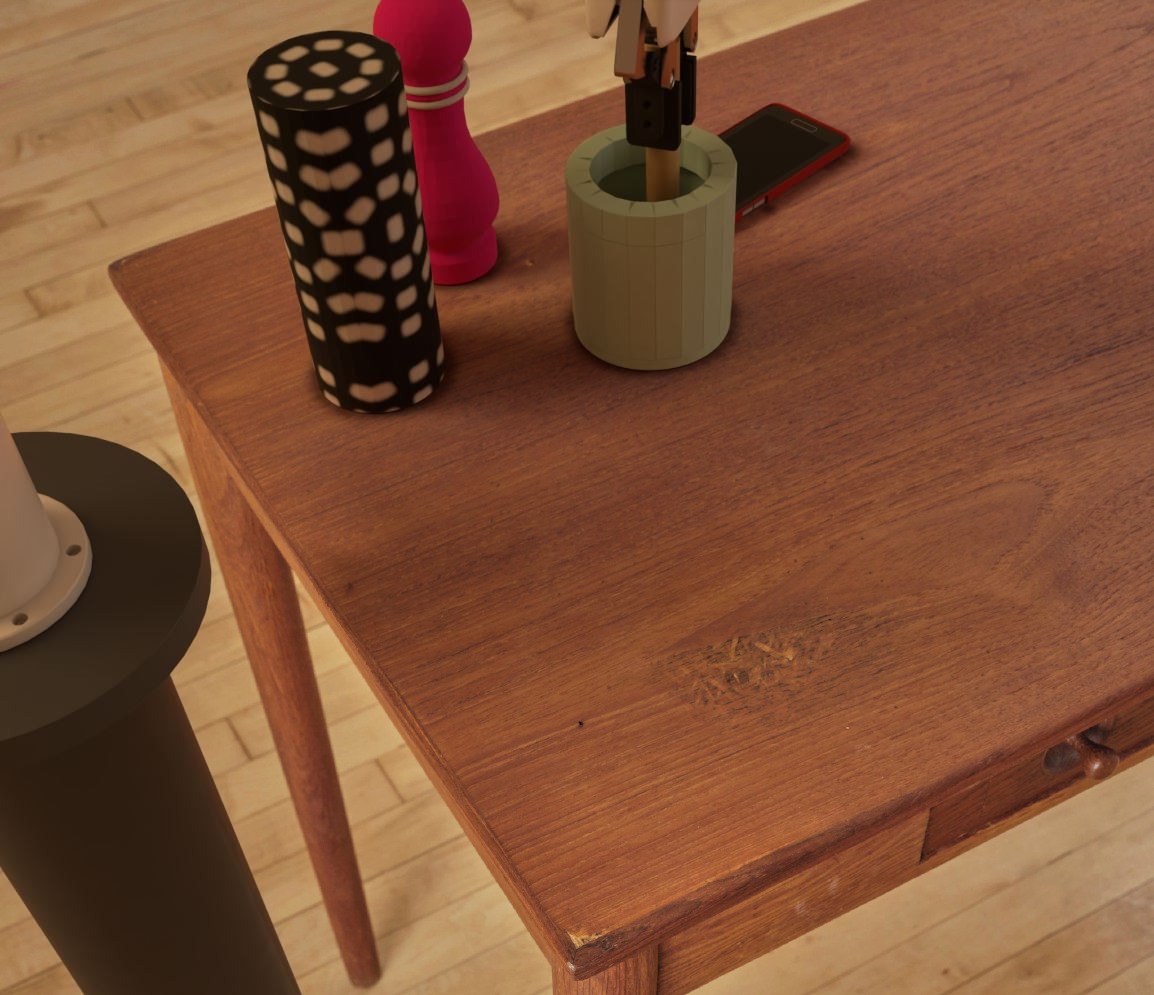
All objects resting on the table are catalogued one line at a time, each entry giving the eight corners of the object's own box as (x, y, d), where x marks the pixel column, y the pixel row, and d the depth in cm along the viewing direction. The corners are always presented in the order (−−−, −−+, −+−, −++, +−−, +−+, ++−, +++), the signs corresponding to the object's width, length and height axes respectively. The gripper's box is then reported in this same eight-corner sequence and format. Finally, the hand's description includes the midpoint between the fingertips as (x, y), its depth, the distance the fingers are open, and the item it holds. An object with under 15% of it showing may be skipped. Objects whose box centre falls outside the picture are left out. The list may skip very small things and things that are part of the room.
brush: (638, 308, 95) (633, 62, 82) (626, 271, 97) (620, 26, 84) (700, 298, 95) (705, 51, 82) (687, 262, 97) (689, 16, 85)
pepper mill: (516, 277, 102) (488, -24, 86) (413, 299, 101) (364, 0, 85) (490, 219, 106) (458, -78, 90) (391, 240, 105) (340, -56, 89)
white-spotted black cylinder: (291, 375, 97) (215, 75, 81) (388, 314, 100) (334, 15, 84) (374, 431, 93) (312, 128, 77) (472, 367, 96) (432, 63, 80)
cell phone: (854, 149, 109) (855, 136, 108) (716, 238, 103) (717, 226, 102) (774, 111, 112) (774, 99, 111) (636, 196, 106) (636, 183, 106)
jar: (589, 381, 95) (581, 227, 86) (562, 286, 101) (552, 133, 92) (746, 357, 95) (754, 202, 87) (710, 264, 101) (714, 110, 93)
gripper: (638, -288, 78) (643, 56, 93) (529, -159, 70) (553, 198, 84) (777, -277, 76) (760, 72, 91) (683, -143, 68) (681, 219, 82)
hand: (661, 130), depth 88 cm, fingers closed on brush, 2 cm apart
